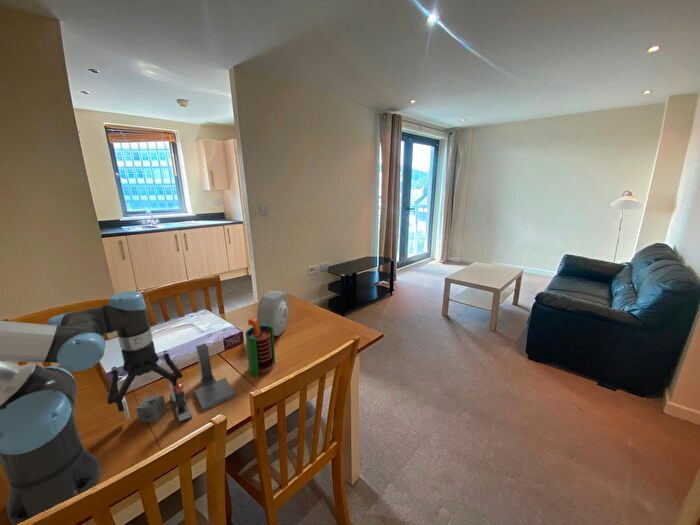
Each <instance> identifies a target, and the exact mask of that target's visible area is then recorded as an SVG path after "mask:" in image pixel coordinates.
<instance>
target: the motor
mask: <svg viewBox="0 0 700 525" xmlns="http://www.w3.org/2000/svg"><path fill="white" fill-rule="evenodd" d="M247 323H248V326H251V327H249V328H248V329H247V330H246V331H245V340H246V343H245V344H246V351H247V354H246V355H247V363H248V373H249V374H250V375H251V376H252V377H257V378H258V377H259V376H261V375H262V376H263V375H267V374H269V373H271V372H272V371H273V370H274V367H275V366H274V364H276V356H275V355H276V354H275V353H276V352H275V340H274V339H275V338H274V337H275V336H274V335H273V327H272V326H270V325H259V322H258V320H257V318H255V317H251V318H249V319H248V320H247Z"/></svg>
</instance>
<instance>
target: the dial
mask: <svg viewBox="0 0 700 525" xmlns="http://www.w3.org/2000/svg"><path fill="white" fill-rule="evenodd" d="M289 314H290V305H289V298H288V297H287V295H286V294H285V292H284V291H281V290H279V291H278V290H268V291H266V292H265V293H264V294H263V295H262V296H261V298H260V300H259V304H258V307H257V310H256V319H257V320H258V322H259V325H270V326H272V327H273V335H274V337H275V336H276V337H279V336H280V335H281V334H282V333H283V332H284V330H285V328H286V327H287V323H288V320H289Z"/></svg>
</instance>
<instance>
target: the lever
mask: <svg viewBox="0 0 700 525" xmlns="http://www.w3.org/2000/svg"><path fill="white" fill-rule="evenodd" d="M184 389H185V386H184V384H182V383H177V384H176V385H175V386H174V387H173V392H174V393H175V397H176V402H177V407H176V413H177V416H178V419H179V422H180V421H182V420H185V419H187V418H189V417H191V416H192V415H191V416H190V414H191V411H190V408H189V406H188V402H185V401H186V397H185V393H184Z"/></svg>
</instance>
